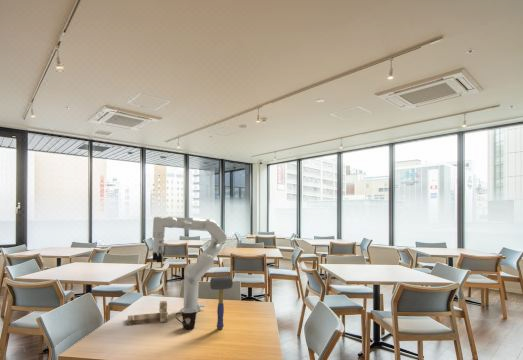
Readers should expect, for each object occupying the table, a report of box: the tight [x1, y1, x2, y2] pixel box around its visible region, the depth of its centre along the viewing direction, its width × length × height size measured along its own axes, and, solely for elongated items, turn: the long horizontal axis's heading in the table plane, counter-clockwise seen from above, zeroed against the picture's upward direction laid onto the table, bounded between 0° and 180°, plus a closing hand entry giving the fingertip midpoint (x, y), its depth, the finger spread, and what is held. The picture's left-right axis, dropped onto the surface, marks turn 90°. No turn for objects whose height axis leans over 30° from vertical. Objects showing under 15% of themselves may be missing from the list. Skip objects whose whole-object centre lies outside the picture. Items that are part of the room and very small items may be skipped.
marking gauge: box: [158, 300, 169, 323], centre depth 206 cm, size 4×14×10 cm, turn 22°
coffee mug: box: [175, 308, 198, 331], centre depth 192 cm, size 12×9×10 cm
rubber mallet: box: [209, 275, 234, 330], centre depth 193 cm, size 12×8×30 cm, turn 112°
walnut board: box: [127, 312, 169, 326], centre depth 204 cm, size 23×10×3 cm, turn 112°
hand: (157, 261), depth 217 cm, fingers open, 9 cm apart
